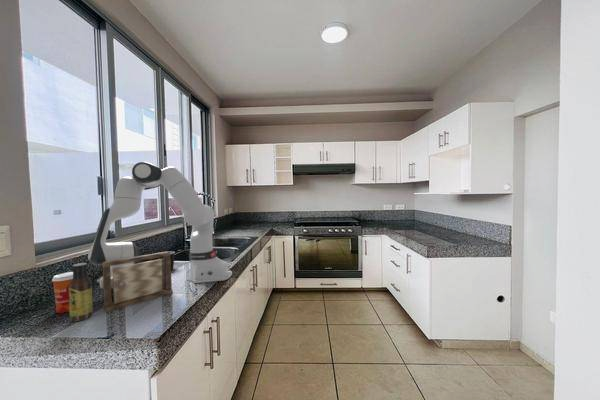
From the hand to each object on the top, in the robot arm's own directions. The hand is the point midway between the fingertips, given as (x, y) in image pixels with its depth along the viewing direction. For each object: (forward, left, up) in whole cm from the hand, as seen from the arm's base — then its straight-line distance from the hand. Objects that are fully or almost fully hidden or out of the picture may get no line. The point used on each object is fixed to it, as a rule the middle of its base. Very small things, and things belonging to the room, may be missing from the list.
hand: (133, 281), depth 103 cm
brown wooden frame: (-2, -1, -8) cm, 9 cm away
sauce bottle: (+10, +14, -9) cm, 19 cm away
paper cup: (+22, +7, -9) cm, 24 cm away
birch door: (-3, -1, -7) cm, 7 cm away
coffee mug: (+10, -44, -9) cm, 46 cm away
